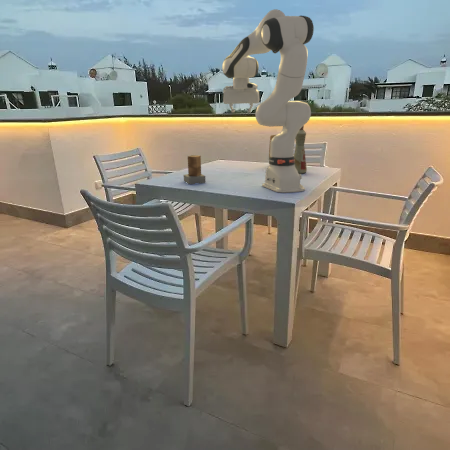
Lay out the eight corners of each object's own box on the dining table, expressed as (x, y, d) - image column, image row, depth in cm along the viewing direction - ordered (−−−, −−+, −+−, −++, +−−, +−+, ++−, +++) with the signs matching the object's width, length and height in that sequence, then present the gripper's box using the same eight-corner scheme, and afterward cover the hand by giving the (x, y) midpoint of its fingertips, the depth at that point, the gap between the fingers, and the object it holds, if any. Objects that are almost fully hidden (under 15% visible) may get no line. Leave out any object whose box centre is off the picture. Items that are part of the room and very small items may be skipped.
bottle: (290, 171, 198) (292, 122, 189) (306, 171, 197) (309, 122, 187) (290, 174, 190) (293, 123, 181) (306, 174, 189) (310, 123, 179)
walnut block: (201, 174, 174) (200, 155, 171) (197, 176, 170) (196, 156, 167) (192, 174, 176) (191, 155, 173) (188, 175, 172) (187, 156, 168)
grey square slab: (205, 183, 173) (205, 175, 171) (189, 185, 169) (188, 177, 168) (199, 180, 180) (199, 173, 179) (184, 182, 177) (183, 174, 176)
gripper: (221, 86, 181) (221, 112, 185) (257, 84, 174) (257, 112, 179) (225, 86, 186) (225, 112, 191) (260, 85, 180) (259, 111, 185)
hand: (241, 112), depth 185 cm, fingers open, 8 cm apart
